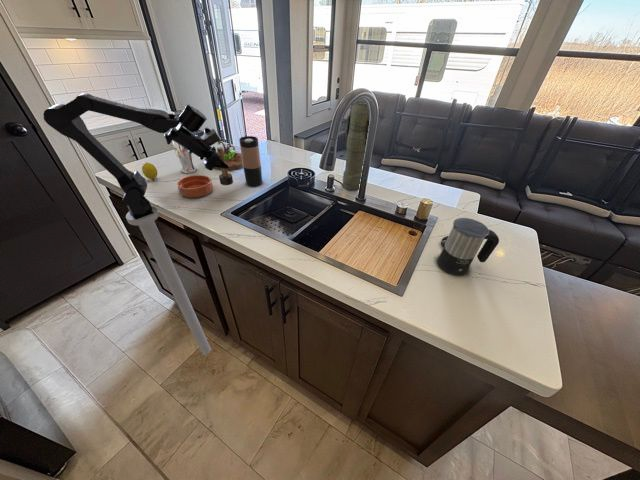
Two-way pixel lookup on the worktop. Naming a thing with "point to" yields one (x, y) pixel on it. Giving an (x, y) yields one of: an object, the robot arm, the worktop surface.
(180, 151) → the beer glass
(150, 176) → the lemon
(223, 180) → the dish brush
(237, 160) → the plant
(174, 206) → the worktop surface
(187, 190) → the bowl
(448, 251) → the milk frother
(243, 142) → the travel mug
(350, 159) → the green banded column
